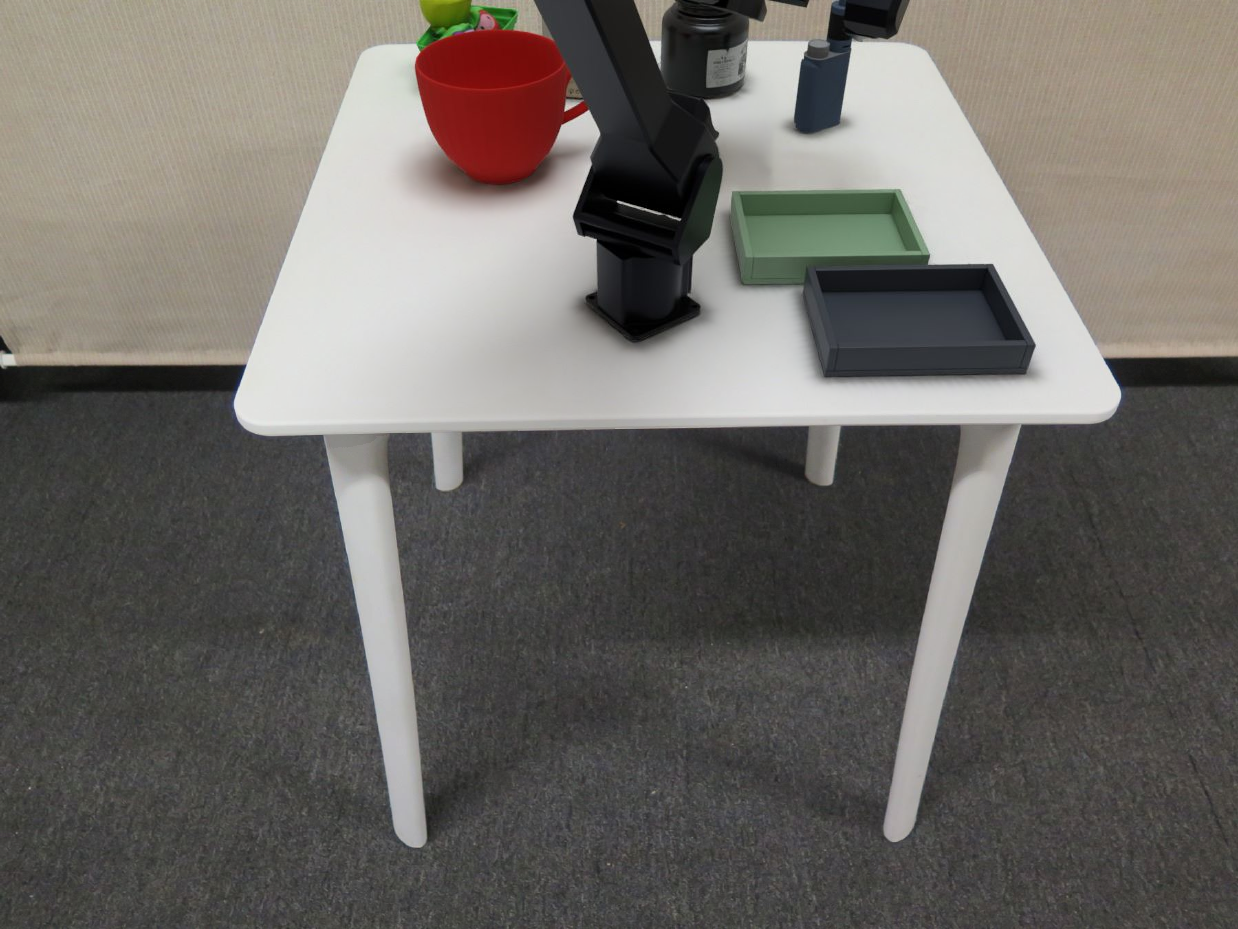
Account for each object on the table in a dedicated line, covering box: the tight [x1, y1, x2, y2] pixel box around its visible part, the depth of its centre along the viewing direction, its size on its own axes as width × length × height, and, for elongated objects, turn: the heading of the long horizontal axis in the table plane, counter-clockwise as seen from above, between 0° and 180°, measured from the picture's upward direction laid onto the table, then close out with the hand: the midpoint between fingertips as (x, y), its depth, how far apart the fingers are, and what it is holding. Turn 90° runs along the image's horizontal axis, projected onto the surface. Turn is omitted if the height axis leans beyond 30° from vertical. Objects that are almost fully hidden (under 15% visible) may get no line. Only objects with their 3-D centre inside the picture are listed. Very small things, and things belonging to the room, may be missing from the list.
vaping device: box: [793, 0, 853, 134], centre depth 95 cm, size 3×5×12 cm, turn 124°
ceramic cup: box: [414, 29, 589, 185], centre depth 90 cm, size 13×17×10 cm
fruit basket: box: [415, 0, 519, 53], centre depth 104 cm, size 11×9×11 cm
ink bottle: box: [659, 0, 750, 97], centre depth 102 cm, size 10×9×12 cm
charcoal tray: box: [802, 263, 1037, 377], centre depth 74 cm, size 14×10×2 cm
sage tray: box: [729, 188, 931, 285], centre depth 82 cm, size 14×10×2 cm
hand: (812, 25), depth 88 cm, fingers open, 9 cm apart
